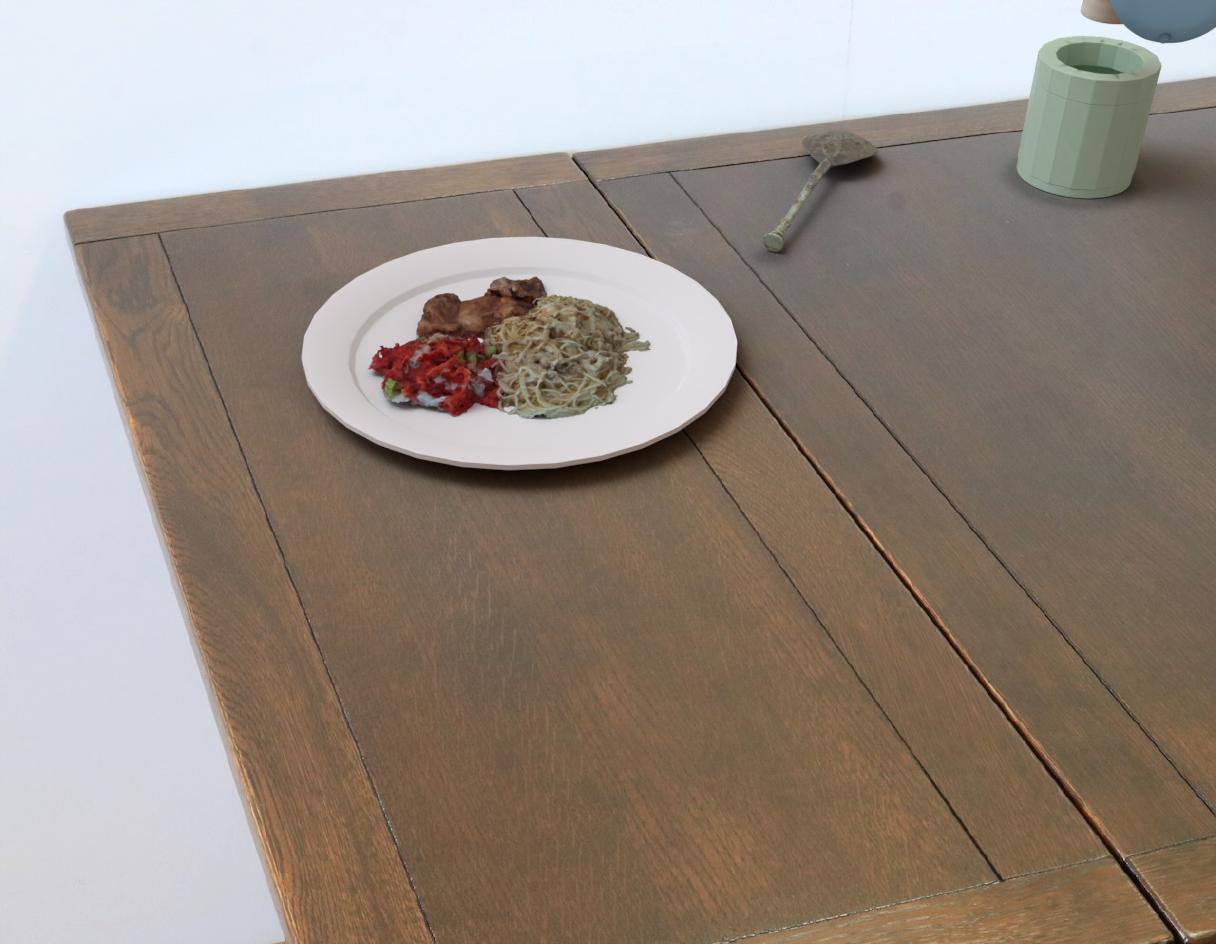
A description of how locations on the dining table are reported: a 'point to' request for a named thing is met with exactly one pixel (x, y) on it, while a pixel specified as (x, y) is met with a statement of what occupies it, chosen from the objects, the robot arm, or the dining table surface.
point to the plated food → (519, 353)
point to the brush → (1099, 11)
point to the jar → (1087, 116)
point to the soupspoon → (821, 171)
